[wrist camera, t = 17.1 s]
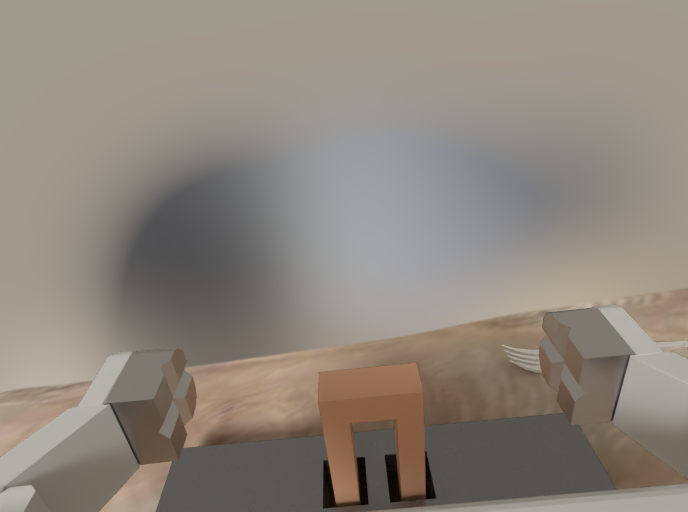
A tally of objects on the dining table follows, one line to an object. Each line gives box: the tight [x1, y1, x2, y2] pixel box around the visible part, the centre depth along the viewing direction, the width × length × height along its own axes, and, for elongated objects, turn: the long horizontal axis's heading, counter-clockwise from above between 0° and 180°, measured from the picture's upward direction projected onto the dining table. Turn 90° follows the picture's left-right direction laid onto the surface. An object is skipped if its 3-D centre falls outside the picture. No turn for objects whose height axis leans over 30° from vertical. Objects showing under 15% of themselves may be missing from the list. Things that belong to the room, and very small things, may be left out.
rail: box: [156, 413, 616, 512], centre depth 33 cm, size 8×30×3 cm, turn 92°
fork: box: [501, 340, 688, 373], centre depth 44 cm, size 3×20×2 cm, turn 93°
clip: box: [318, 363, 426, 507], centre depth 31 cm, size 2×6×12 cm, turn 92°
